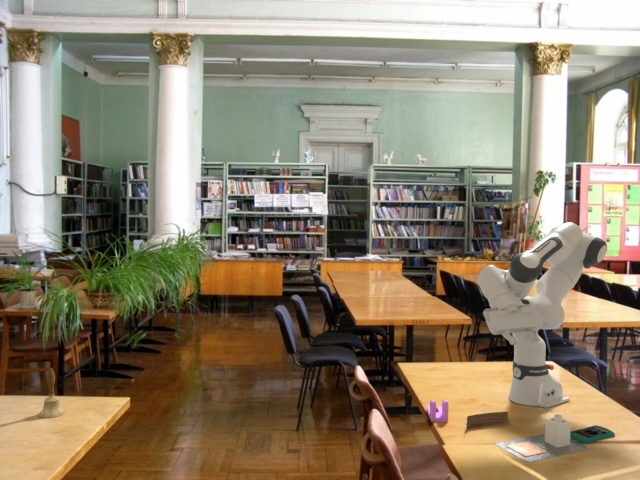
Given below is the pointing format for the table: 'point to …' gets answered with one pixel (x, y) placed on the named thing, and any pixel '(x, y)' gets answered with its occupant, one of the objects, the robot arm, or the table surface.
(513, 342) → the robot arm
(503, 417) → the brown bark piece
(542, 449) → the post plate
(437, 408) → the bracket
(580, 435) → the digital multimeter
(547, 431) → the sleeve
